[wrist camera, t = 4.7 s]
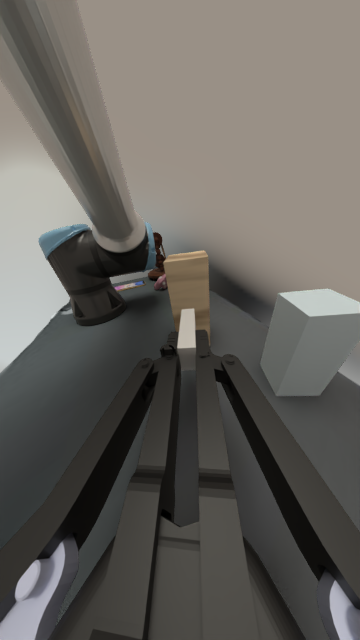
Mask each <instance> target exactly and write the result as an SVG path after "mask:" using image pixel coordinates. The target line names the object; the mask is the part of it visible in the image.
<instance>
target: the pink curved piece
mask: <svg viewBox="0 0 360 640" xmlns="http://www.w3.org/2000/svg"><path fill="white" fill-rule="evenodd" d="M161 287H162V288H163V289H165V288H166V287H167V280H166V275H165V274H164V275H163V276H160V277H159V278H158V280H157V282H156V283H155V285H154V288H155V290H158V289H159V288H161Z"/></svg>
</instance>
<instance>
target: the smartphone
mask: <svg viewBox="0 0 360 640" xmlns="http://www.w3.org/2000/svg"><path fill="white" fill-rule="evenodd" d="M144 285H145V282H144V281H140V282H135V283H131V284H126V285H122V286H117V287H114V288H115V289H116V290H117V292H118V291H123V290H127V289H131V288H136V287H140V286H144Z"/></svg>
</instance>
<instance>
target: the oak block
mask: <svg viewBox="0 0 360 640" xmlns="http://www.w3.org/2000/svg"><path fill="white" fill-rule="evenodd" d="M163 264H164V269H165V275H166V280H167V285H168V291H169V296H170V301H171V307H172V312H173V318H174V323H175V328H176V332H177V331H179V328H180V319H181V311H182V309H193V308H194V312H195V323H196V330H203V329H205V330H206V331H207V332H208V339H209V345H210V314H209V271H208V256H207V254H206V252H205V251H198V252H190V253H183V254H176V255H169V256H168V257H167V259H166V260H165V261H164V262H163Z"/></svg>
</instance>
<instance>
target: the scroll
mask: <svg viewBox="0 0 360 640" xmlns="http://www.w3.org/2000/svg"><path fill="white" fill-rule="evenodd" d="M153 237H154V243H155V251H156V253H157V254H156V264H155V265H156V267H158V269H154V270H152V271H150V272H149V273H148V277H149V278H153V280H154V281H155V278H159V277H160V276H163V275H164V274H165V269H164V264H163V262H164V261H165V260H166V257H165V253H164V249H163V246H162V237H161V235H160V234H159V233H156V232H155V233H153ZM160 246H161V247H162V251H163V254H164V256H163V255H161V254H160V253H161V252H160V249H159V248H160ZM164 257H165V258H164Z"/></svg>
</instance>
